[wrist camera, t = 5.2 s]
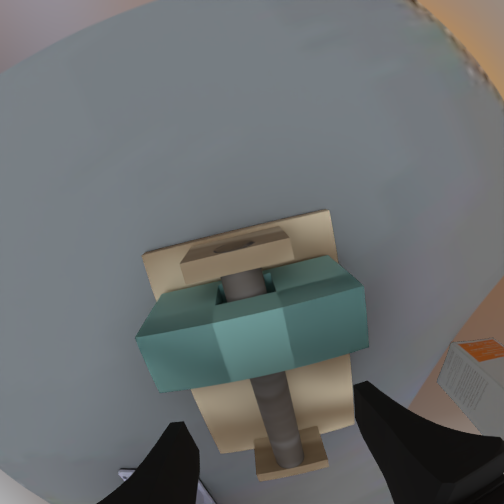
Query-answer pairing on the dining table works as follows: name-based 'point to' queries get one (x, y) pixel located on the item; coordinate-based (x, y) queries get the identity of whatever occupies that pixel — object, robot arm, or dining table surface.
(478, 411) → the skincare box
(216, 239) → the pipe jig
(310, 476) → the dining table surface
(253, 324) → the collar
